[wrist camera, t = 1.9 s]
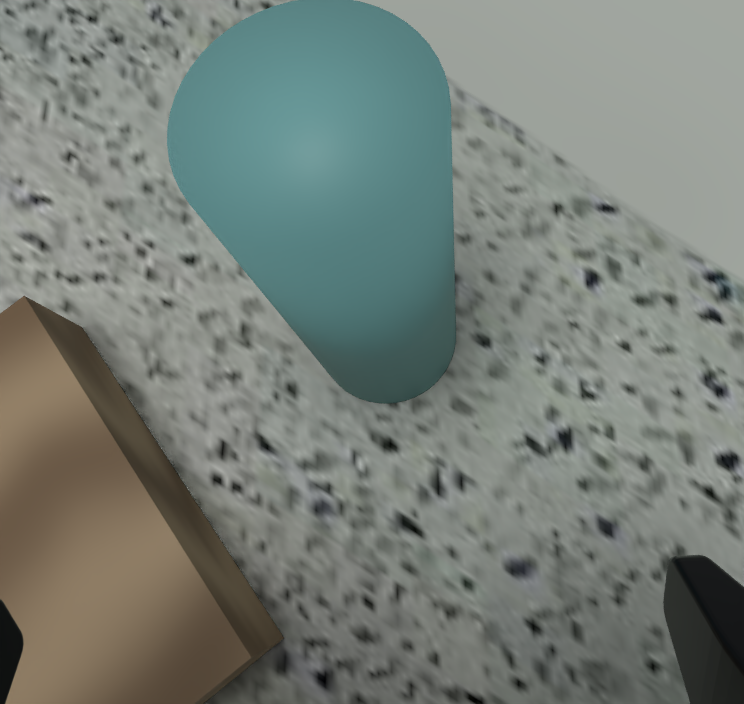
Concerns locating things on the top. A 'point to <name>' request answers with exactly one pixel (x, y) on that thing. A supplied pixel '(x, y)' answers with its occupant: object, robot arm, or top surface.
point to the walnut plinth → (106, 539)
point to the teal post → (331, 183)
